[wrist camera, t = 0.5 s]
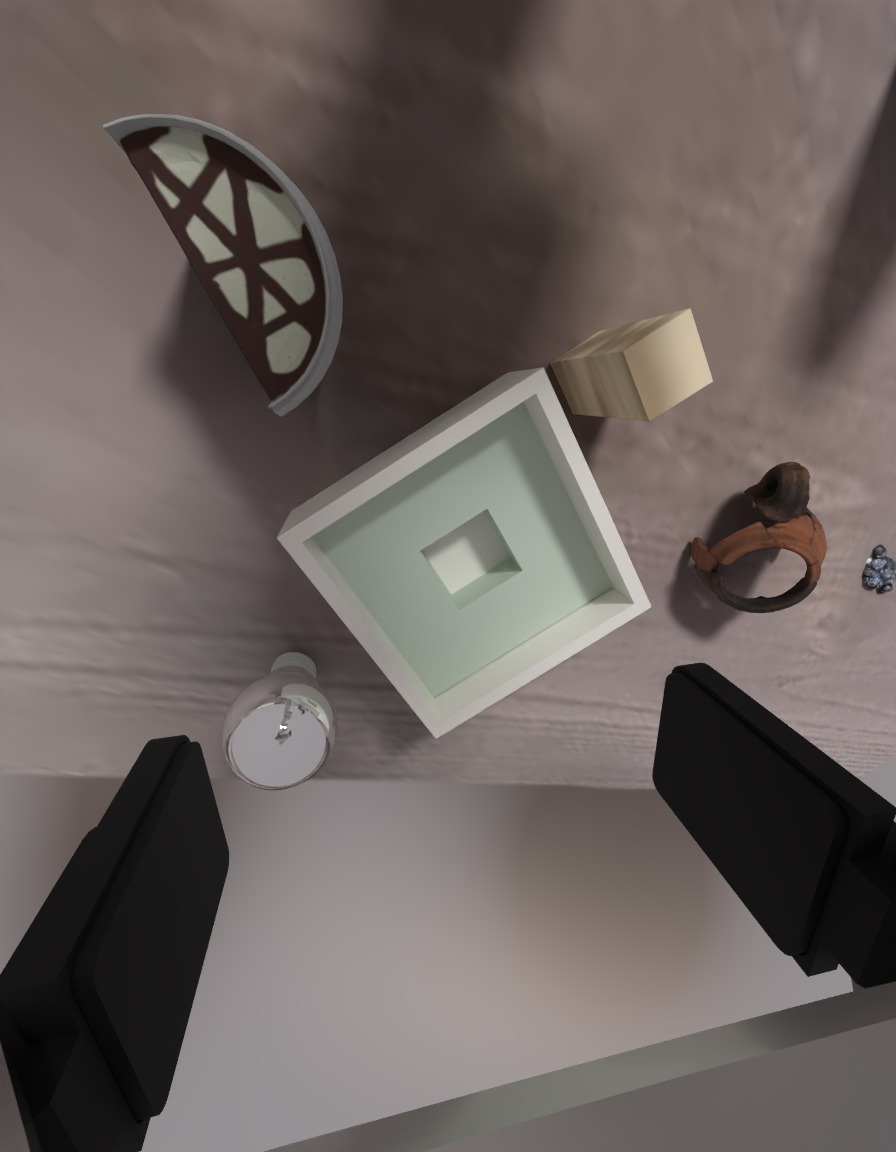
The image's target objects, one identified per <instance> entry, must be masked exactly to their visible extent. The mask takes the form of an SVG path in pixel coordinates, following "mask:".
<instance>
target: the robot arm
mask: <svg viewBox="0 0 896 1152" xmlns="http://www.w3.org/2000/svg"><path fill="white" fill-rule="evenodd" d="M653 781H654V785H655V787H656V789H657V791H658V792H659V794H660V795H661V796H662V798H663V799H664V800H665V802H666V803H667V804H668V806H669V807H670V808H671V809H672V811H673V812H674V813H675V815H676V816H677V817H678V818H679V820H680V821H681V822H682V824H683V825H684V826H685V828H686V829H687V830H688V831H689V833H690V834H691V835H692V837H693V838H694V839H695V841H696V842H697V843H698V845H699V846H700V847H701V848H702V850H703V851H704V852H705V854H706V855H707V856H708V858H709V859H710V860H711V861H712V863H713V864H714V865H715V867H716V868H717V869H718V871H719V872H720V873H721V875H722V876H723V877H724V879H725V880H726V881H727V882H728V884H729V885H730V886H731V888H732V889H733V890H734V892H735V893H736V894H737V895H738V897H739V898H740V899H741V901H742V902H743V903H744V905H745V906H746V907H747V908H748V910H749V911H750V912H751V914H752V915H753V916H754V918H755V919H756V920H757V921H758V923H759V924H760V925H761V927H762V928H763V929H764V931H765V932H766V933H767V935H768V936H769V937H770V938H771V939H772V941H773V942H774V944H775V945H776V946H777V947H778V948H779V949H780V950H781V951H782V952H783V953H784V954H786V955H789V956H792V957H793V958H794V960H795V961H796V962H797V963H798V965H799V966H800V967H801V969H802V970H803V971H804V972H805V974H806V975H807V976H808V977H809V976H813V975H817V974H820V973H824V972H828V971H832V970H836V969H837V967H838V964H840V965H841V966H842V967H843V968H844V970H845V971H846V972H847V973H848V974H849V975H850V977H851V980H852V986H853V992H850V993H846V994H842V995H839V996H834V997H830V998H827V999H823V1000H819V1001H815V1002H812V1003H808V1004H804V1005H800V1006H796V1007H793V1008H789V1009H785V1010H781V1011H777V1012H774V1013H770V1014H766V1015H762V1016H758V1017H755V1018H751V1019H747V1020H743V1021H739V1022H736V1023H732V1024H728V1025H724V1026H721V1027H717V1028H713V1029H709V1030H706V1031H702V1032H698V1033H694V1034H690V1035H687V1036H683V1037H679V1038H676V1039H672V1040H668V1041H664V1042H661V1043H657V1044H653V1045H649V1046H646V1047H642V1048H638V1049H635V1050H631V1051H627V1052H623V1053H620V1054H616V1055H612V1056H609V1057H605V1058H601V1059H598V1060H594V1061H591V1062H587V1063H583V1064H579V1065H575V1066H572V1067H568V1068H564V1069H561V1070H557V1071H554V1072H550V1073H546V1074H542V1075H539V1076H535V1077H532V1078H528V1079H524V1080H520V1081H516V1082H513V1083H509V1084H505V1085H502V1086H498V1087H494V1088H491V1089H487V1090H483V1091H480V1092H477V1093H473V1094H469V1095H466V1096H462V1097H458V1098H455V1099H451V1100H447V1101H444V1102H440V1103H437V1104H433V1105H429V1106H426V1107H422V1108H418V1109H415V1110H411V1111H408V1112H404V1113H401V1114H397V1115H393V1116H390V1117H386V1118H382V1119H379V1120H376V1121H372V1122H368V1123H365V1124H361V1125H357V1126H354V1127H350V1128H347V1129H343V1130H339V1131H335V1132H332V1133H329V1134H325V1135H321V1136H317V1137H314V1138H310V1139H307V1140H303V1141H299V1142H296V1143H292V1144H289V1145H285V1146H282V1147H278V1148H275V1149H272V1150H269V1151H265V1152H896V823H895V822H894V821H893V820H894V818H895V815H896V807H895V806H893V805H892V804H890V803H889V802H888V801H887V800H885V799H884V798H883V797H881V796H880V795H879V794H877V793H876V792H874V791H873V790H872V789H871V788H870V787H868V786H867V785H866V784H864V783H863V782H861V781H860V780H859V779H858V778H856V777H855V776H854V775H852V774H851V773H850V772H849V771H847V770H846V769H845V768H843V767H842V766H841V765H839V764H838V763H837V762H835V761H834V760H833V759H831V758H830V757H829V756H827V755H826V754H825V753H824V752H822V751H821V750H820V749H818V748H817V747H816V746H814V745H813V744H812V743H810V742H809V741H808V740H806V739H805V738H804V737H802V736H801V735H800V734H799V733H797V732H796V731H795V730H793V729H792V728H791V727H789V726H788V725H787V724H785V723H784V722H783V721H781V720H780V719H779V718H777V717H776V716H775V715H774V714H772V713H771V712H770V711H768V710H767V709H766V708H764V707H763V706H762V705H760V704H759V703H758V702H756V701H755V700H754V699H752V698H751V697H750V696H749V695H747V694H746V693H745V692H743V691H742V690H741V689H739V688H738V687H737V686H735V685H734V684H733V683H731V682H730V681H729V680H727V679H726V678H725V677H724V676H722V675H721V674H720V673H718V672H717V671H716V670H714V669H713V668H712V667H710V666H709V665H707V664H705V663H695V664H688V665H681V666H677V667H675V668H674V669H673V671H672V674H670V675H668V676H667V678H666V682H665V689H664V696H663V703H662V710H661V717H660V724H659V731H658V738H657V745H656V752H655V759H654V766H653ZM228 865H229V850H228V846H227V841H226V838H225V834H224V830H223V827H222V823H221V819H220V815H219V812H218V808H217V805H216V801H215V797H214V793H213V790H212V786H211V782H210V778H209V775H208V771H207V767H206V764H205V760H204V756H203V753H202V749H201V746H200V744H199V743H198V742H190V740H189V738H188V737H187V736H185V735H181V736H173V737H166V738H159V739H152V740H150V741H148V743H147V744H146V745H145V747H144V749H143V750H142V752H141V754H140V755H139V757H138V759H137V760H136V762H135V764H134V765H133V767H132V769H131V770H130V772H129V774H128V775H127V777H126V779H125V781H124V782H123V784H122V786H121V787H120V789H119V791H118V792H117V794H116V796H115V797H114V799H113V801H112V802H111V804H110V806H109V808H108V809H107V811H106V813H105V814H104V816H103V818H102V819H101V821H100V823H99V824H98V826H97V827H95V828H93V829H92V830H91V831H89V832H88V834H87V835H86V836H85V837H84V839H83V840H82V842H81V844H80V845H79V847H78V848H77V850H76V851H75V853H74V855H73V856H72V858H71V860H70V862H69V863H68V865H67V866H66V868H65V870H64V871H63V873H62V875H61V876H60V878H59V879H58V881H57V883H56V884H55V886H54V888H53V889H52V891H51V892H50V894H49V896H48V898H47V899H46V901H45V902H44V904H43V906H42V907H41V909H40V911H39V912H38V914H37V915H36V917H35V919H34V920H33V922H32V924H31V925H30V927H29V929H28V930H27V932H26V933H25V935H24V937H23V938H22V940H21V942H20V943H19V945H18V947H17V948H16V950H15V952H14V953H13V955H12V956H11V958H10V960H9V961H8V963H7V965H6V967H5V968H4V970H3V971H2V973H1V974H0V1152H139V1151H141V1150H142V1146H143V1142H144V1139H145V1135H146V1132H147V1128H148V1125H149V1121H150V1118H151V1117H153V1116H157V1115H159V1114H160V1113H161V1112H162V1111H163V1108H164V1106H165V1104H166V1101H167V1098H168V1095H169V1091H170V1087H171V1083H172V1080H173V1076H174V1072H175V1068H176V1065H177V1061H178V1057H179V1053H180V1050H181V1046H182V1042H183V1038H184V1034H185V1030H186V1027H187V1023H188V1019H189V1016H190V1012H191V1008H192V1004H193V1000H194V997H195V993H196V989H197V985H198V981H199V977H200V974H201V970H202V966H203V963H204V959H205V955H206V951H207V948H208V943H209V940H210V936H211V932H212V929H213V925H214V921H215V917H216V913H217V909H218V905H219V902H220V898H221V895H222V891H223V887H224V883H225V879H226V876H227V872H228Z"/></svg>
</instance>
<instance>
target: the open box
mask: <svg viewBox="0 0 896 1152" xmlns="http://www.w3.org/2000/svg"><path fill="white" fill-rule="evenodd" d="M522 402H524V404H525V406H526V408H527V410H528V412H529V414H530V416H531V418H532V420H533V423H534V425H535V427H536V429H537V431H538V433H539V435H540V437H541V439H542V441H543V443H544V445H545V447H546V450H547V452H548V454H549V456H550V458H551V460H552V462H553V464H554V466H555V468H556V470H557V472H558V474H559V477H560V479H561V481H562V483H563V485H564V487H565V489H566V491H567V493H568V495H569V497H570V499H571V501H572V504H573V506H574V508H575V510H576V512H577V514H578V516H579V518H580V520H581V522H582V524H583V526H584V528H585V531H586V533H587V535H588V537H589V539H590V541H591V543H592V545H593V547H594V549H595V551H596V553H597V555H598V557H599V560H600V562H601V564H602V566H603V568H604V570H605V572H606V574H607V576H608V578H609V580H610V582H611V584H612V588H610V589H609V590H607V591H605V592H604V593H602V594H601V595H599V596H597V597H596V598H594V599H593V600H591V601H589V602H588V603H586V604H584V605H583V606H581V607H580V608H578V609H576V610H575V611H573V612H571V613H570V614H568V615H567V616H565V617H563V618H562V619H560V620H558V621H557V622H555V623H554V624H552V625H550V626H549V627H547V628H545V629H544V630H542V631H541V632H539V633H537V634H536V635H534V636H533V637H531V638H529V639H528V640H526V641H524V642H523V643H521V644H520V645H518V646H516V647H515V648H513V649H511V650H510V651H508V652H507V653H505V654H503V655H502V656H500V657H498V658H497V659H495V660H494V661H492V662H490V663H489V664H487V665H485V666H484V667H482V668H481V669H479V670H477V671H476V672H474V673H473V674H471V675H469V676H468V677H466V678H464V679H463V680H461V681H460V682H458V683H456V684H455V685H453V686H451V687H450V688H448V689H447V690H445V691H443V692H442V693H440V694H438V695H437V696H435V697H433V696H432V695H431V693H430V692H429V691H428V689H427V688H426V687H425V685H424V684H423V683H422V681H421V680H420V679H419V677H418V676H417V675H416V673H415V672H414V671H413V670H412V668H411V667H410V666H409V664H408V663H407V662H406V660H405V659H404V658H403V656H402V655H401V654H400V652H399V651H398V650H397V648H396V647H395V646H394V644H393V643H392V642H391V640H390V639H389V638H388V636H387V635H386V634H385V633H384V631H383V630H382V629H381V627H380V626H379V625H378V623H377V622H376V621H375V619H374V618H373V617H372V615H371V614H370V613H369V611H368V610H367V609H366V607H365V606H364V605H363V603H362V602H361V601H360V599H359V598H358V597H357V595H356V594H355V593H354V592H353V590H352V589H351V588H350V586H349V585H348V584H347V582H346V581H345V580H344V578H343V577H342V576H341V574H340V573H339V572H338V570H337V569H336V568H335V566H334V565H333V564H332V562H331V561H330V560H329V558H328V557H327V556H326V555H325V553H324V552H323V551H322V549H321V548H320V547H319V545H318V544H317V543H316V541H315V540H314V539H313V537H312V536H313V535H315V534H316V533H318V532H319V531H321V530H322V529H324V528H326V527H327V526H329V525H330V524H332V523H333V522H335V521H337V520H338V519H340V518H341V517H343V516H344V515H346V514H347V513H349V512H351V511H352V510H354V509H355V508H357V507H358V506H360V505H362V504H363V503H365V502H366V501H368V500H369V499H371V498H373V497H374V496H376V495H377V494H379V493H380V492H382V491H384V490H385V489H387V488H388V487H390V486H391V485H393V484H395V483H396V482H398V481H399V480H401V479H402V478H404V477H406V476H407V475H409V474H410V473H412V472H413V471H415V470H417V469H418V468H420V467H421V466H423V465H424V464H426V463H428V462H429V461H431V460H432V459H434V458H435V457H437V456H439V455H440V454H442V453H443V452H445V451H446V450H448V449H450V448H451V447H453V446H454V445H456V444H457V443H459V442H461V441H462V440H464V439H465V438H467V437H468V436H470V435H472V434H473V433H475V432H476V431H478V430H479V429H481V428H483V427H484V426H486V425H487V424H489V423H490V422H492V421H494V420H495V419H497V418H498V417H500V416H501V415H503V414H505V413H506V412H508V411H509V410H511V409H512V408H514V407H516V406H517V405H519V404H520V403H522ZM277 539H278V540H279V542H280V543H281V544H282V545H283V547H284V548H285V549H286V550H287V552H288V553H289V554H290V555H291V557H292V558H293V559H294V561H295V562H296V563H297V564H298V566H299V567H300V568H301V569H302V571H303V572H304V573H305V574H306V576H307V577H308V578H309V579H310V581H311V582H312V583H313V584H314V586H315V587H316V588H317V590H318V591H319V592H320V593H321V595H322V596H323V597H324V598H325V600H326V601H327V602H328V603H329V605H330V606H331V607H332V608H333V610H334V611H335V612H336V614H337V615H338V616H339V617H340V619H341V620H342V621H343V622H344V624H345V625H346V626H347V627H348V629H349V630H350V631H351V632H352V634H353V635H354V636H355V637H356V639H357V640H358V641H359V643H360V644H361V645H362V646H363V648H364V649H365V650H366V651H367V653H368V654H369V655H370V656H371V658H372V659H373V660H374V661H375V663H376V664H377V665H378V667H379V668H380V669H381V670H382V672H383V673H384V674H385V675H386V677H387V678H388V679H389V680H390V682H391V683H392V684H393V685H394V687H395V688H396V689H397V690H398V692H399V693H400V694H401V696H402V697H403V698H404V699H405V701H406V702H407V703H408V704H409V706H410V707H411V708H412V709H413V711H414V712H415V713H416V714H417V716H418V717H419V718H420V719H421V721H422V722H423V723H424V725H425V726H426V727H427V728H428V730H429V731H430V732H431V733H432V735H433V736H434V737H435V738H436V739H437V738H439V737H440V736H442V735H444V734H445V733H447V732H448V731H450V730H452V729H453V728H455V727H457V726H458V725H460V724H461V723H463V722H465V721H466V720H468V719H470V718H471V717H473V716H475V715H476V714H478V713H479V712H481V711H483V710H484V709H486V708H488V707H489V706H491V705H492V704H494V703H496V702H497V701H499V700H501V699H502V698H504V697H506V696H507V695H509V694H510V693H512V692H514V691H515V690H517V689H519V688H520V687H522V686H523V685H525V684H527V683H528V682H530V681H532V680H533V679H535V678H537V677H538V676H540V675H541V674H543V673H545V672H546V671H548V670H550V669H551V668H553V667H554V666H556V665H558V664H559V663H561V662H563V661H564V660H566V659H568V658H569V657H571V656H572V655H574V654H576V653H577V652H579V651H581V650H582V649H584V648H585V647H587V646H589V645H590V644H592V643H594V642H595V641H597V640H598V639H600V638H602V637H603V636H605V635H607V634H608V633H610V632H612V631H613V630H615V629H616V628H618V627H620V626H621V625H623V624H625V623H626V622H628V621H629V620H631V619H633V618H634V617H636V616H638V615H639V614H641V613H643V612H644V611H646V610H647V609H649V608H651V605H650V603H649V600H648V598H647V596H646V594H645V591H644V589H643V587H642V585H641V583H640V580H639V578H638V576H637V574H636V572H635V569H634V567H633V565H632V563H631V560H630V558H629V556H628V554H627V552H626V549H625V547H624V545H623V543H622V540H621V538H620V536H619V534H618V532H617V529H616V527H615V525H614V523H613V520H612V518H611V516H610V514H609V512H608V509H607V507H606V505H605V503H604V501H603V498H602V496H601V494H600V492H599V489H598V487H597V485H596V483H595V481H594V478H593V476H592V474H591V472H590V469H589V467H588V465H587V463H586V461H585V458H584V456H583V454H582V452H581V449H580V447H579V445H578V443H577V441H576V438H575V436H574V434H573V432H572V430H571V427H570V425H569V423H568V421H567V418H566V416H565V414H564V412H563V410H562V407H561V405H560V403H559V401H558V398H557V396H556V394H555V392H554V390H553V387H552V385H551V383H550V381H549V378H548V376H547V374H546V372H545V370H544V367H543V368H536V369H529V370H522V371H515V372H507V373H506V374H504V375H503V376H501V377H499V378H498V379H496V380H495V381H493V382H492V383H490V384H489V385H487V386H485V387H484V388H482V389H481V390H479V391H478V392H476V393H474V394H473V395H471V396H470V397H468V398H467V399H465V400H464V401H462V402H460V403H459V404H457V405H456V406H454V407H453V408H451V409H449V410H448V411H446V412H445V413H443V414H442V415H440V416H439V417H437V418H435V419H434V420H432V421H431V422H429V423H428V424H426V425H424V426H423V427H421V428H420V429H418V430H417V431H415V432H414V433H412V434H410V435H409V436H407V437H406V438H404V439H403V440H401V441H399V442H398V443H396V444H395V445H393V446H392V447H390V448H389V449H387V450H385V451H384V452H382V453H381V454H379V455H378V456H376V457H374V458H373V459H371V460H370V461H368V462H367V463H365V464H364V465H362V466H360V467H359V468H357V469H356V470H354V471H353V472H351V473H349V474H348V475H346V476H345V477H343V478H342V479H340V480H339V481H337V482H335V483H334V484H332V485H331V486H329V487H328V488H326V489H324V490H323V491H321V492H320V493H318V494H317V495H315V496H314V497H312V498H310V499H309V500H307V501H306V502H304V503H303V504H301V505H300V506H298V507H296V508H295V509H293V510H292V511H291V512H290V514H289V516H288V518H287V519H286V521H285V523H284V525H283V527H282V529H281V531H280V532H279V534H278V536H277ZM422 551H423V552H424V554H425V555H426V557H427V558H428V560H429V562H430V563H431V565H432V566H433V568H434V569H435V571H436V572H437V574H438V575H439V577H440V578H441V580H442V581H443V583H444V584H445V586H446V587H447V589H448V590H449V592H450V594H453V593H455V592H456V591H458V590H459V589H461V588H463V587H464V586H466V585H467V584H469V583H471V582H472V581H474V580H475V579H477V578H479V577H480V576H482V575H483V574H485V573H487V572H488V571H490V570H491V569H493V568H495V567H496V566H498V565H499V564H501V563H503V562H504V561H506V560H507V559H509V558H510V556H509V555H508V553H507V551H506V549H505V548H504V546H503V544H502V542H501V541H500V539H499V537H498V535H497V534H496V532H495V530H494V528H493V527H492V525H491V523H490V521H489V520H488V518H487V516H486V514H485V513H484V511H483V512H481V513H479V514H478V515H476V516H475V517H473V518H471V519H470V520H468V521H467V522H465V523H463V524H462V525H460V526H459V527H457V528H456V529H454V530H452V531H451V532H449V533H448V534H446V535H444V536H443V537H441V538H440V539H438V540H436V541H435V542H433V543H432V544H430V545H429V546H427V547H425V548H424V549H422Z"/></svg>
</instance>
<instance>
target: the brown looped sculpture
mask: <svg viewBox="0 0 896 1152" xmlns="http://www.w3.org/2000/svg"><path fill="white" fill-rule="evenodd" d="M809 479H810V476H809V472H808V470H807V469H806V468H805V467H803V466H801V465H800V464H799V463H796V462H787V463H782V464H779V465H777V466H775V467H773V468H772V469H770V470H769V471H768V472H767V473H766V474H765V475H764V477H763V478H762V480H761V481H760V482H759V483H758V484H756V485H754V486H752V487H750V488H748V489H747V490H745V491H744V493H745V495H746V496H748V497H750V498H751V499H752V500H753V501H754V503H755V504H756V509H757V511H758V512H759V513H760V514H761V515H762V516H763V517H764V518H766V519H767V520H769V521H771V522H776V524H775V525H773V526H771V527H768V528H765V527H764V526H763V524H762V523H761V522H757V523H754V524H753V525H750V526H748V527H746V528H744V529H741V530H739V531H736V532H735V533H734V534H732V535H731V536H729V537H727V538H725V539H723V540H721V541H720V542H718V543H717V544H716V545H715V546H713V547H712V548H711V549H708V548H707V547H705V545H704V544H703V542H702V540H701V538H698V537H696V538H694V540H693V542H692V546H691V554H692V559H693V560H694V561H695V563H696V564H695V570H696V572H697V574H698V575H699V577H700V578H701V580H702V581H703V582H704V584H705V585H706V586H707V587H708V588H709V589H710V590H711V591H712V592H714V593H715V594H716V595H717V596H718V598H719V599H720V600H721V601H723V602H724V603H725V604H727V605H730V606H732V607H733V608H735V609H737V610H741V611H746V612H750V613H767V612H774V611H779V610H782V609H785V608H789V607H791V606H793V605H795V604H797V603H799V602H801V601H802V600H803V599H804V598H806V597H807V596H808V595H809V594H810V593H811V592H812V591H813V590H814V588H815V587H816V585H817V581H818V580H819V577H820V574H821V565H822V563H823V560H824V558H825V554H826V548H827V546H826V539H825V534H824V531H823V528H822V525H821V524H820V523H819V521H818V519H817V518H816V516H815V515H814V514H813V513H812V512H811V511H810V510H809V509H808V508H807V504H808V501H809ZM773 547H776V548H783V549H787V550H790V551H793V552H795V553H797V554H799V555H800V556H801V557H802V558H803V559H804V560H805V561H806V564H807V571H806V573H805V577H804V578H802V579H801V580H800V581H799V582H798V583H797V584H796V585H795V586H794V587H792V588H791V589H790V590H788V591H787V592H785V593H784V594H782V595H779V596H776V597H771V598H766V597H763V596H760V597H757V598H749V599H748V598H742V597H739V596H736V595H734V594H732V593H731V592H729V591H728V590H727V589H726V587H725V586H724V583H723V574H722V573H721V572H719V571H718V570H717V567H718V566H719V563H721V564H724V565H730V564H731V563H732V562H734V561H735V560H736V559H738V558H739V557H741V556H742V555H744V554H746V553H749V552H752V551H755V550H760V549H766V548H773Z"/></svg>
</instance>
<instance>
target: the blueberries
mask: <svg viewBox="0 0 896 1152" xmlns="http://www.w3.org/2000/svg"><path fill="white" fill-rule="evenodd" d="M886 554H887V551H886V548H884V547H883V546H882V545H879V546H877V547H875V548H874V549H873V550H872V554H871V556H870V557H869V559H868V560H867V562H866V565H865V568H864V570H863V573H862V574H861V575H862V576H863V579H862V582H863V584H864V585H869V588H871V589H872V588H876V593H885V592H889V591H891V590H893V586H892V584H891V583H893V582H894V581H896V575H895V573H894V572H893V571H895V569H896V562H895V561H894V560H892V559H890V558H888V557H886Z"/></svg>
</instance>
